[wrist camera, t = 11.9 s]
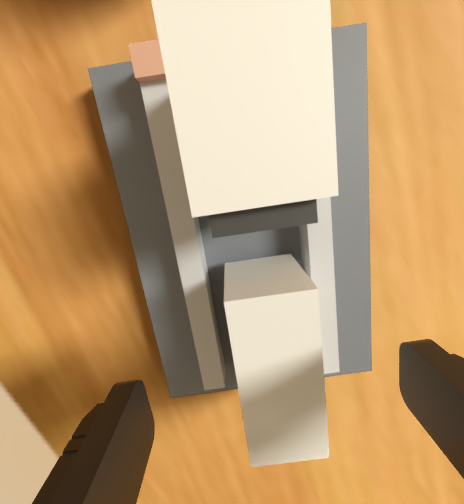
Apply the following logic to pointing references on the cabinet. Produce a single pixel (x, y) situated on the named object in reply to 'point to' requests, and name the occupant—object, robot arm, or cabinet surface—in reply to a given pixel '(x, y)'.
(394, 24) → the cabinet surface
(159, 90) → the rail mount
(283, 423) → the cream block
